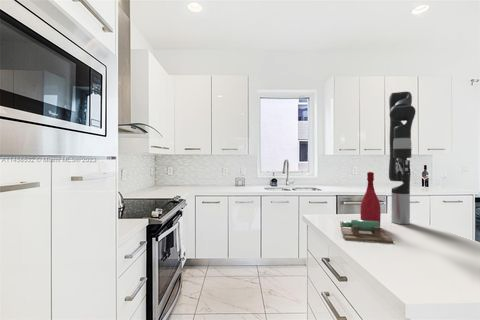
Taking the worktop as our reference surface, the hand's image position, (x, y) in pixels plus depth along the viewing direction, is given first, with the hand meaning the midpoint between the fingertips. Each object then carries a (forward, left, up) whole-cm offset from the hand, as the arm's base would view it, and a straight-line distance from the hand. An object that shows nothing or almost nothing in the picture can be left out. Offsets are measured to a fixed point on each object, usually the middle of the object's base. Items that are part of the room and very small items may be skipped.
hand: (402, 182), depth 130 cm
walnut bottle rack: (+4, -17, -26) cm, 31 cm away
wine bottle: (-16, -11, -26) cm, 33 cm away
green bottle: (+4, -19, -23) cm, 31 cm away
